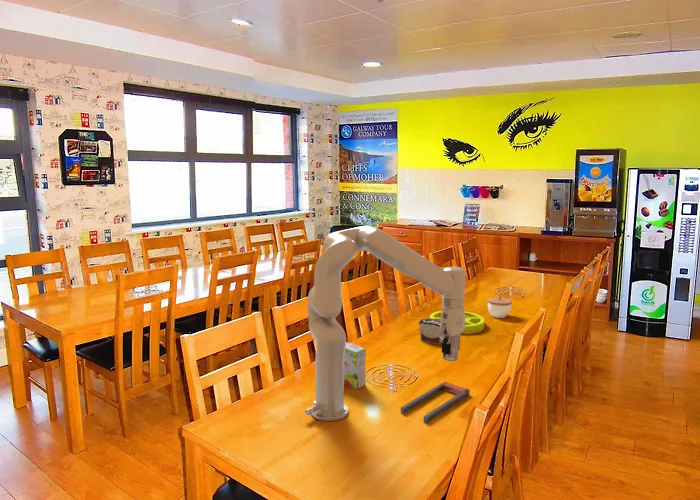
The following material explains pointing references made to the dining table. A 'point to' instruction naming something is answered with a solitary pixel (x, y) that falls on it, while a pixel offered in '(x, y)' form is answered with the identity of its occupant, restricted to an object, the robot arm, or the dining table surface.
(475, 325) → the pulley
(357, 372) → the snack box
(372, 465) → the dining table surface
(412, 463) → the dining table surface
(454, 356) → the energy drink
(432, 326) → the food container
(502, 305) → the lidded bowl
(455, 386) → the guide track
